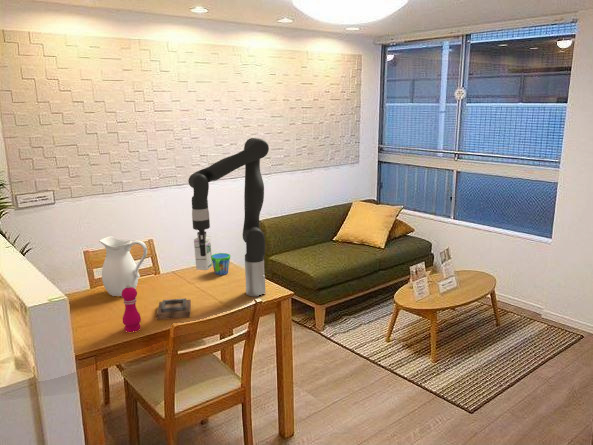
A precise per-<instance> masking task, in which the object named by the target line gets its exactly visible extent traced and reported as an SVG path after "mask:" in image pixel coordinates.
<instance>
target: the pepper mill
mask: <svg viewBox="0 0 593 445" xmlns="http://www.w3.org/2000/svg"><path fill="white" fill-rule="evenodd" d="M126 287H127V288H125V289H123V291H122V296H121V298H122V299H123V304H124V312H123V315H122V324H123V325H124V332H125V331H127V332H133V331H134V333H136V332H135V331H137V332H138V330H139V329H140V328H141V322H142V321H141V320H142V317H141V315H140V313H139V311H138V309H137V306H136V305H137V304H136V303H137V295H138V291H137V289H135V288H133V287H131V285H130V284H127V285H126ZM140 330H141V329H140ZM140 330H139V331H140ZM127 332H126V333H127Z"/></svg>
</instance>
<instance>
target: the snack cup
mask: <svg viewBox="0 0 593 445" xmlns="http://www.w3.org/2000/svg"><path fill="white" fill-rule="evenodd" d="M211 255H212V267H213V271H214V274H215V275H218V276H223V275H226V274H228V273H229V269H230V260H231V254H230V253H224V252H222V253H221V252H219V253H214V254H211Z"/></svg>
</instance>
